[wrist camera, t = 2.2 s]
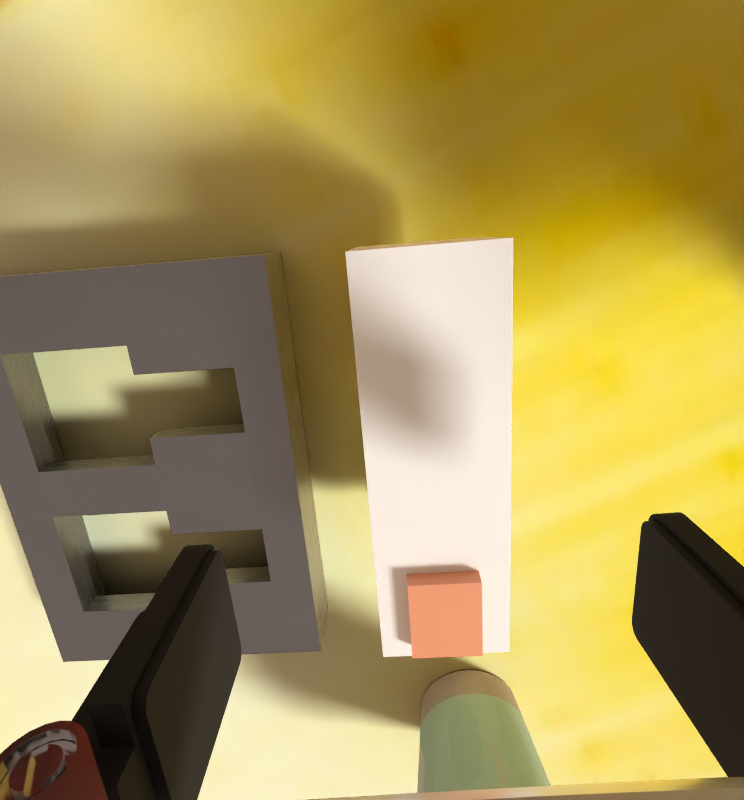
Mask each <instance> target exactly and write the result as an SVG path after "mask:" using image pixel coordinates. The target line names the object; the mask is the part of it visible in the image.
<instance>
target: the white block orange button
mask: <svg viewBox="0 0 744 800" xmlns="http://www.w3.org/2000/svg"><path fill="white" fill-rule="evenodd" d="M345 254H346V265H347V276H348V287H349V297H350V308H351V319H352V329H353V340H354V351H355V361H356V372H357V383H358V394H359V404H360V415H361V426H362V436H363V447H364V458H365V468H366V479H367V490H368V501H369V511H370V522H371V533H372V543H373V554H374V565H375V575H376V586H377V597H378V607H379V618H380V629H381V640H382V650H383V657H395V656H412V658H437V657H462V656H483V653H494V652H510V564H511V450H512V336H513V238H507V237H469V238H457V239H445V240H433V241H421V242H409V243H397V244H385V245H373V246H361V247H356V248H353V249H351V250H348V251H346V252H345Z"/></svg>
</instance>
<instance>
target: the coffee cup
mask: <svg viewBox="0 0 744 800" xmlns="http://www.w3.org/2000/svg"><path fill="white" fill-rule="evenodd" d="M537 786H551V785H550V783H549V780H548V778H547V776H546V773H545V771H544V768H543V766H542V763H541V761H540V758H539V756H538V754H537V751H536V749H535V746H534V744H533V741H532V739H531V736H530V734H529V732H528V729H527V727H526V724H525V722H524V719H523V717H522V715H521V712H520V710H519V707H518V705H517V703H516V700H515V698H514V695H513V693H512V691H511V689H510V688H509V687H508V685H507V684H506V683H505V682H503V681H502V680H501V679H499V678H498V677H496V676H494V675H492V674H489V673H486V672H482V671H476V670H463V671H457V672H453V673H450V674H447V675H445V676H443V677H441V678H439V679H438V680H436V681H435V682H434V683H433V684H432V685H431V686H430V687H429V688H428V689H427V691H426V693H425V695H424V697H423V700H422V712H421V730H420V750H419V771H418V792H417V793H426V792H445V791H463V790H481V789H499V788H518V787H537Z"/></svg>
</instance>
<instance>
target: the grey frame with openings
mask: <svg viewBox="0 0 744 800" xmlns="http://www.w3.org/2000/svg"><path fill="white" fill-rule="evenodd" d="M124 345H127V348H128V352H129V357H130V361H131V365H132V369H133V373H134V375H138V374H152V373H166V372H180V371H194V370H208V369H221V368H234V372H235V378H236V383H237V389H238V395H239V401H240V406H241V412H242V418H243V424H227V425H212V426H197V427H182V428H167V429H160V430H159V431H158V432H157V433H155V434H154V435H153V436H152V437H151V438H150V439H149V440H150V444H151V448H152V452H153V455H141V456H126V457H110V458H94V459H78V460H65V458H64V455H63V452H62V448H61V445H60V442H59V439H58V435H57V432H56V429H55V425H54V422H53V419H52V415H51V412H50V409H49V405H48V402H47V399H46V396H45V392H44V389H43V386H42V382H41V379H40V376H39V372H38V369H37V366H36V362H35V359H34V356H33V353H32V352H45V351H58V350H71V349H85V348H98V347H111V346H124ZM0 484H1V487H2V490H3V492H4V495H5V498H6V501H7V504H8V507H9V509H10V512H11V515H12V518H13V521H14V524H15V526H16V529H17V532H18V535H19V538H20V541H21V543H22V546H23V549H24V552H25V555H26V557H27V560H28V563H29V566H30V569H31V572H32V574H33V577H34V580H35V583H36V586H37V589H38V591H39V594H40V597H41V600H42V603H43V606H44V608H45V611H46V614H47V617H48V620H49V623H50V625H51V628H52V631H53V634H54V637H55V640H56V642H57V645H58V648H59V651H60V654H61V657H62V659H63V662H68V661H92V660H110V659H111V657H112V656H113V654H114V652H115V651H116V649H117V648H118V646H119V644H120V643H121V641H122V640H123V638H124V636H125V635H126V633H127V632H128V630H129V628H130V627H131V625H132V624H133V622H134V620H135V619H136V617H137V616H138V615H139V614H140V613H141V612H142V611H144V610H145V609H146V608H147V606H148V605H149V603H150V601H151V600H152V598H153V596H154V595H155V593H141V594H121V595H106V594H105V591H104V587H103V584H102V581H101V577H100V574H99V571H98V567H97V564H96V561H95V558H94V554H93V551H92V548H91V544H90V541H89V538H88V534H87V531H86V528H85V524H84V521H83V518H82V515H99V514H116V513H133V512H151V511H167V515H168V519H169V523H170V527H171V532H172V534H185V533H203V532H222V531H240V530H258V529H262V533H263V539H264V545H265V550H266V556H267V562H268V567H249V568H229V569H226V574H227V578H228V583H229V588H230V593H231V598H232V603H233V608H234V613H235V618H236V623H237V627H238V632H239V637H240V642H241V654H261V653H285V652H309V651H321V647H322V641H323V635H324V628H325V622H326V616H327V609H328V605H327V597H326V590H325V582H324V575H323V567H322V560H321V552H320V545H319V537H318V530H317V522H316V515H315V507H314V500H313V492H312V484H311V477H310V469H309V462H308V454H307V447H306V439H305V432H304V424H303V417H302V409H301V402H300V394H299V387H298V379H297V372H296V364H295V357H294V349H293V341H292V334H291V326H290V319H289V311H288V304H287V296H286V289H285V281H284V274H283V266H282V259H281V252H274V253H262V254H250V255H238V256H226V257H215V258H203V259H191V260H179V261H167V262H155V263H143V264H131V265H119V266H107V267H96V268H84V269H72V270H60V271H48V272H36V273H24V274H12V275H0Z"/></svg>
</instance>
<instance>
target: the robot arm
mask: <svg viewBox="0 0 744 800" xmlns="http://www.w3.org/2000/svg"><path fill="white" fill-rule="evenodd" d="M632 626H633V630H634V633H635V636H636V638H637V639H638V641H639V643H640V644H641V646H642V647H643V649H644V650H645V652H646V653H647V655H648V656H649V658H650V659H651V661H652V662H653V664H654V665H655V667H656V668H657V670H658V671H659V673H660V674H661V676H662V677H663V679H664V680H665V682H666V684H667V685H668V687H669V688H670V690H671V691H672V693H673V694H674V696H675V697H676V699H677V700H678V702H679V703H680V705H681V706H682V708H683V709H684V711H685V712H686V714H687V715H688V717H689V718H690V720H691V721H692V723H693V724H694V726H695V727H696V729H697V730H698V732H699V734H700V735H701V737H702V738H703V740H704V741H705V743H706V744H707V746H708V747H709V749H710V750H711V752H712V753H713V755H714V756H715V758H716V759H717V761H718V762H719V764H720V765H721V767H722V768H723V770H724V771H725V773H726V774H727V776H728V777H723V778H701V779H680V780H659V781H638V782H617V783H596V784H575V785H556V786H537V787H518V788H499V789H481V790H463V791H445V792H426V793H408V794H391V795H375V796H358V797H342V798H325V799H309V800H744V567H743V566H742V565H741V564H740V563H739V562H737V561H736V560H735V559H734V558H733V557H732V556H731V555H730V554H728V553H727V552H726V551H725V550H724V549H723V548H722V547H721V546H719V545H718V544H717V543H716V542H715V541H714V540H713V539H712V538H710V537H709V536H708V535H707V534H706V533H705V532H704V531H702V530H701V529H700V528H699V527H698V526H697V525H696V524H695V523H693V522H692V521H691V520H690V519H689V518H688V517H687V516H686V515H684V514H683V513H679V512H677V513H662V514H653V515H651V516H650V518H649V521H645V522H643V524H642V527H641V536H640V546H639V556H638V566H637V575H636V585H635V595H634V605H633V615H632ZM240 661H241V642H240V637H239V632H238V627H237V623H236V618H235V613H234V608H233V603H232V598H231V593H230V588H229V583H228V578H227V574H226V569H225V564H224V559H223V555H222V552H221V551H220V550H218V551H215V550H214V547H213V546H212V545H210V544H209V545H195V546H186V547H184V548H183V549H182V551H181V553H180V554H179V556H178V557H177V559H176V561H175V562H174V564H173V566H172V567H171V569H170V570H169V572H168V574H167V575H166V577H165V579H164V580H163V582H162V583H161V585H160V587H159V588H158V590H157V592H156V593H155V595H154V596H153V598H152V600H151V601H150V603H149V605H148V606H147V608H146V609H145V610H144V611H142V612H141V613H140V614H139V615H138V616H137V617H136V619H135V620H134V622H133V624H132V625H131V627H130V628H129V630H128V632H127V633H126V635H125V636H124V638H123V640H122V641H121V643H120V644H119V646H118V648H117V649H116V651H115V652H114V654H113V656H112V657H111V659H110V660H109V662H108V664H107V665H106V667H105V668H104V670H103V672H102V673H101V675H100V676H99V678H98V680H97V681H96V683H95V684H94V686H93V688H92V689H91V691H90V692H89V694H88V695H87V697H86V699H85V700H84V702H83V703H82V705H81V707H80V708H79V710H78V711H77V713H76V715H75V716H74V718H73V719H72V721H57V722H53V723H49V724H45V725H43V726H41V727H39V728H36V729H34V730H32V731H30V732H28V733H27V734H25V735H24V736H22V737H21V738H19V739H18V740H16V741H15V742H13V743H12V744H11V745H10V746H9V747H8V748H7V749H5V750H4V751H3V752H2V753H1V754H0V800H197V798H198V795H199V792H200V789H201V786H202V782H203V779H204V776H205V773H206V770H207V766H208V763H209V760H210V757H211V754H212V751H213V747H214V744H215V741H216V738H217V735H218V731H219V728H220V725H221V722H222V719H223V716H224V712H225V709H226V706H227V703H228V700H229V696H230V693H231V690H232V687H233V684H234V681H235V677H236V674H237V671H238V668H239V665H240Z"/></svg>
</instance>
